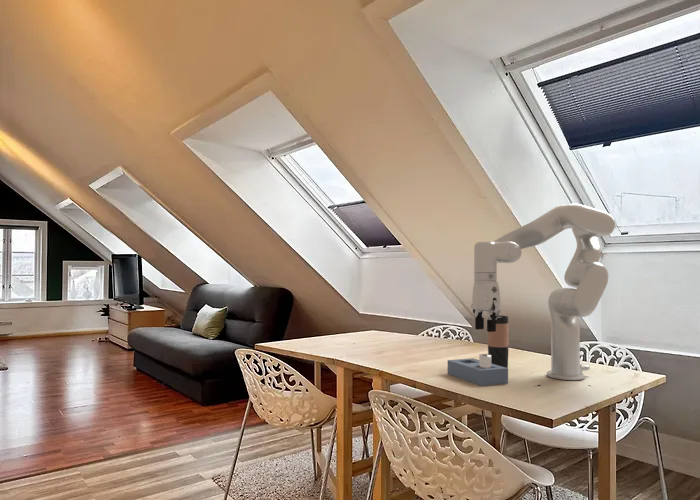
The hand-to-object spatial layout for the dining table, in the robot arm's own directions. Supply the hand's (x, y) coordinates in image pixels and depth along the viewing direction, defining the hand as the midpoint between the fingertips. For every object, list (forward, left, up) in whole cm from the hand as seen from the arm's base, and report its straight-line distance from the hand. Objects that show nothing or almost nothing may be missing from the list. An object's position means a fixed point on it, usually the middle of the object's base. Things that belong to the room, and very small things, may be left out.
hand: (485, 329), depth 181 cm
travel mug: (-18, -17, -18) cm, 31 cm away
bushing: (0, 0, -18) cm, 18 cm away
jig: (0, -5, -18) cm, 18 cm away
